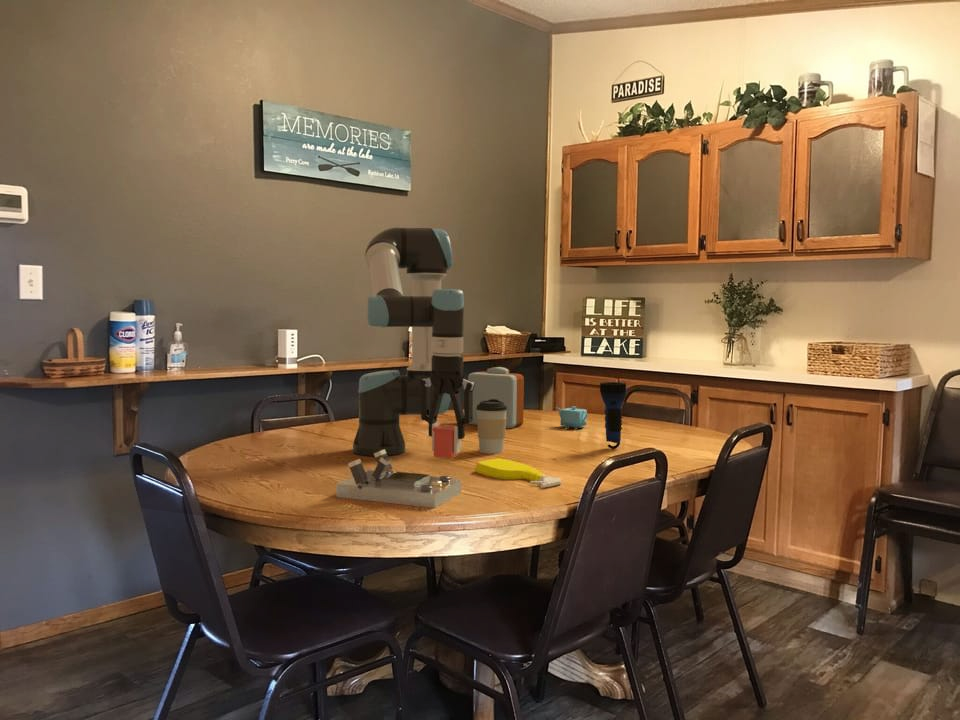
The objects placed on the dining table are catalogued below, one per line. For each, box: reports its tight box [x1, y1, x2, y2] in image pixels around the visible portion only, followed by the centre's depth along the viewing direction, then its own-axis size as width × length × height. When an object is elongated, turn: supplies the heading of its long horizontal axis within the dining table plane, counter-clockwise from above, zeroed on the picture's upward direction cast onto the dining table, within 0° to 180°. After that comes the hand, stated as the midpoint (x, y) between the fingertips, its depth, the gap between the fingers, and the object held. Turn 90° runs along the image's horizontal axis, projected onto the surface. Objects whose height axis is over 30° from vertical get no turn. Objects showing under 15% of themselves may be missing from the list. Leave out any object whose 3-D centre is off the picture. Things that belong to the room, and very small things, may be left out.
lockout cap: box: [433, 424, 460, 459], centre depth 187 cm, size 5×5×7 cm
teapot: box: [556, 406, 588, 430], centre depth 273 cm, size 12×6×8 cm, turn 60°
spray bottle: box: [474, 457, 562, 489], centre depth 195 cm, size 3×11×24 cm
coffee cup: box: [476, 399, 507, 455], centre depth 228 cm, size 9×9×15 cm
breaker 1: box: [347, 458, 368, 484], centre depth 174 cm, size 2×2×5 cm
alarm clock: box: [467, 366, 525, 429], centre depth 276 cm, size 18×9×21 cm, turn 58°
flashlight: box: [599, 381, 627, 450], centre depth 234 cm, size 8×8×20 cm
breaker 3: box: [372, 455, 393, 480], centre depth 178 cm, size 2×2×5 cm
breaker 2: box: [373, 449, 393, 472], centre depth 185 cm, size 2×2×5 cm
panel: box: [335, 469, 462, 509], centre depth 177 cm, size 24×15×4 cm, turn 69°
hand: (446, 450), depth 187 cm, fingers closed on lockout cap, 5 cm apart
